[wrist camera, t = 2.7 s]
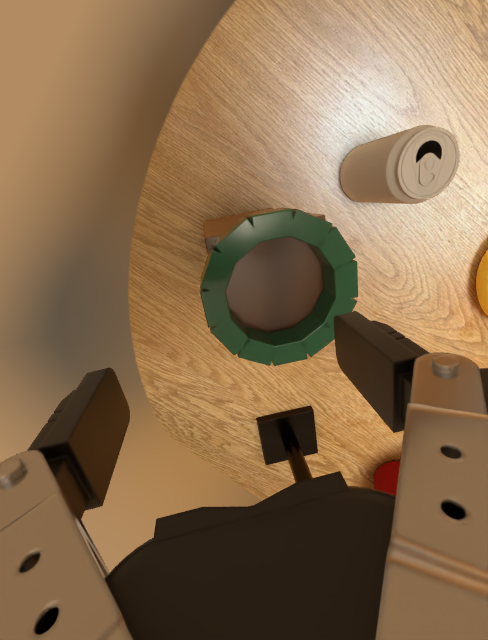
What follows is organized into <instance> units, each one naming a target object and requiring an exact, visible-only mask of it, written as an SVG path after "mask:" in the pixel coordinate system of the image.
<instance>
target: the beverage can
mask: <svg viewBox="0 0 488 640" xmlns="http://www.w3.org/2000/svg"><path fill="white" fill-rule="evenodd" d="M458 164H459V147H458V143H457V141H456V139H455V137H454V136H453V135H452V133H450V132H449V131H447V130H446V129H444V128H440V127H435V126H431V125H421V126H417V127H414V128H411V129H408V130H405V131H402V132H399V133H396V134H393V135H390V136H387V137H383V138H380V139H377V140H374V141H371V142H368V143H365V144H362V145H360V146H358V147H356V148H355V149H353V150H352V151H351V152H350V153H349V154H348V156H347V157H346V159H345V160H344V162H343V165H342V168H341V173H340V180H341V185H342V188H343V190H344V192H345V194H346V195H347V196H348V197H349V198H351V199H352V200H354V201H357V202H371V203H403V204H416V203H420V202H423V201H426V200H428V199H429V198H432V197H434V196H436V195H438V194H439V193H441V192H442V191H443V190H444V189H445V188H446V187H447V186H448V185H449V184H450V182H451V181H452V179H453V178H454V176H455V174H456V171H457V168H458Z"/></svg>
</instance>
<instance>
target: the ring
mask: <svg viewBox="0 0 488 640" xmlns="http://www.w3.org/2000/svg"><path fill="white" fill-rule="evenodd" d="M246 217H247V218H244V217H241V218H240V219H238V220H237V221H236V222H235V223H234V224H233V225H232V226H231V227H229V228H228V229H227V230H226V231H225V232H224V233H223V234H222V235H220V236H219V237H218V238H217V239H216V240H215V241H214V242H215V246H213V245H212V246H211V248H210V251H209V254H208V257H207V260H206V263H205V266H204V270H203V273H202V276H201V284H200V294H201V299H202V303H203V307H204V311H205V316H206V320H207V324H208V327H210V331H211V333H212V334H213V335H214V336H215V337H216V338H217V339H218V340H219V341H220V342H221V343H222V344H223V345H224V346H225V347H226V348H227V349H228V350H229V351H230V352H231V353H232V354H233V355H236V354H237V355H238V357H239V358H243V359H247V360H250V361H254V362H258V363H261V364H265V365H269V366H270V365H271V362H273V365H274V366H276V365H281V364H286V363H290V362H295V361H300V360H304V359H307V353H308V354H309V356H310V357H312V356H313V355H314V354H316V353H317V352H318V351H320V350H321V349H322V348H324V347H325V346H326V345H327V344H329V343H330V342H331V341H333V340H334V339H335V334H334V317H335V316H337V315H341V314H345V313H350V312H352V310H353V308H354V306H355V304H356V302H357V300H355V299H354V297H358V278H357V261H355V260H353V259H354V258H355V255H354V253H353V252H352V250H351V249H350V247H349V246H348V244H347V243H346V241H345V240H344V238H343V237H342V235H341V234H340V232H339V231H338V229H337V228H336V227H333V226H332V223H330V222H327V221H325V220H322V219H320V218H317V217H315V216H313V215H310V214H308V213H305V212H303V211H301V210H298V209H290V208H277V209H272V210H267V211H261V212H256V213H251V214H247V215H246ZM285 237H293V238H296V239H298V240H301V241H303V242H306V243H307V244H308V245H309V247H310V248H311V249H312V251H313V252H314V253H315V255H316V256H317V258H318V259H319V260H320V262H321V263H322V277H323V290H322V292H321V294H320V297H319V299H318V301H317V303H316V305H315V307H314V310H313V312H312V313H310V314H309V315H308V316H307V317H305V318H304V319H303V320H302V321H300V322H299V323H298V324H297V325H295V326H294V327H293V328H289V329H284V330H279V331H274V332H270V333H267V332H264V331H260V330H257V329H254V328H250V327H247V326H245V325H244V324H243V323H242V322H241V321H240V320H239V319H238V318H237V317H236V316H235V314H234V313H233V312H232V311H231V310H230V309H229V306H228V301H227V296H226V289H227V286H228V283H229V281H230V278H231V275H232V272H233V269H234V267H235V264H236V262H238V261H239V260H240V259H241V258H242V257H243V256H245V255H246V254H247V253H248V252H249V251H250V250H251V249H253V248H254V247H255V246H256V245H257V244H258V243H260V242H264V241H269V240H274V239H279V238H285Z"/></svg>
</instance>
